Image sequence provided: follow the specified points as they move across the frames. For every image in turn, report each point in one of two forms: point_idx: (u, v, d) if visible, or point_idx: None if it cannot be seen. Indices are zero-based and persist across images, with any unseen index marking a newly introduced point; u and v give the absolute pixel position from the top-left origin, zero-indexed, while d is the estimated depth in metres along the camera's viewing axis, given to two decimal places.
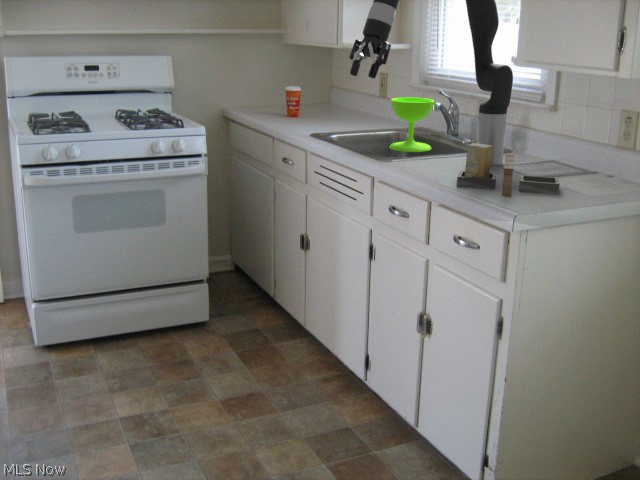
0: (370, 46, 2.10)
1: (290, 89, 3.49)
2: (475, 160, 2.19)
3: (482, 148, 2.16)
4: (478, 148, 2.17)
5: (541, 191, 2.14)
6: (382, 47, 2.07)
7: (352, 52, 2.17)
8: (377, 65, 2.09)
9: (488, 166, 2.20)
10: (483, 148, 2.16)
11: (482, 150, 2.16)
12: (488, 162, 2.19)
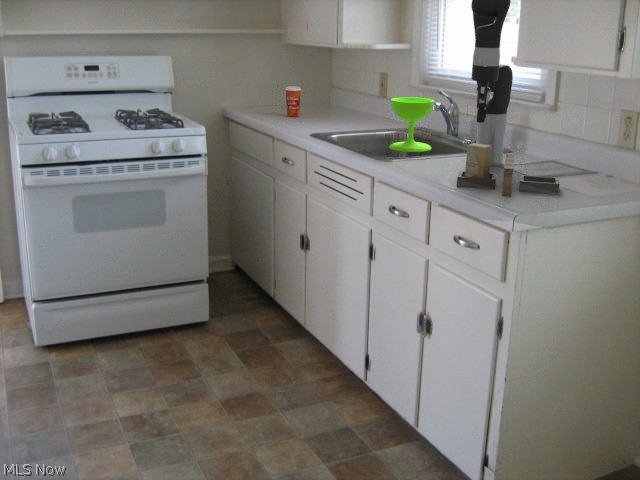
0: (490, 90, 2.16)
1: (290, 89, 3.49)
2: (475, 160, 2.19)
3: (482, 148, 2.16)
4: (478, 148, 2.17)
5: (541, 191, 2.14)
6: None
7: (486, 101, 2.09)
8: None
9: (488, 166, 2.20)
10: (483, 148, 2.16)
11: (482, 150, 2.16)
12: (488, 162, 2.19)
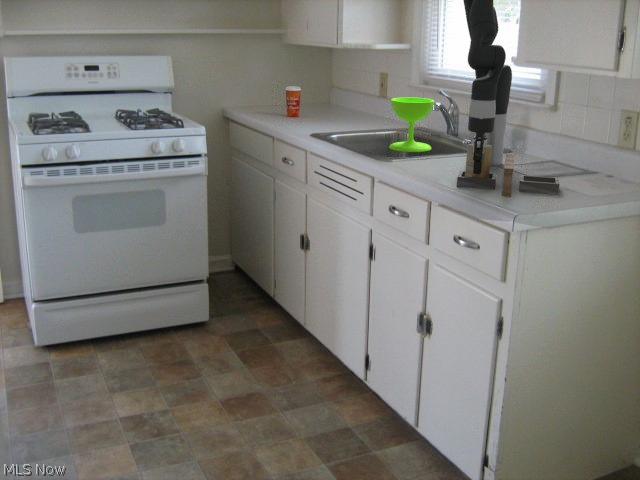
0: (486, 141, 2.20)
1: (290, 89, 3.49)
2: None
3: None
4: None
5: (541, 191, 2.14)
6: None
7: (482, 154, 2.14)
8: None
9: (488, 166, 2.20)
10: None
11: None
12: (488, 162, 2.19)
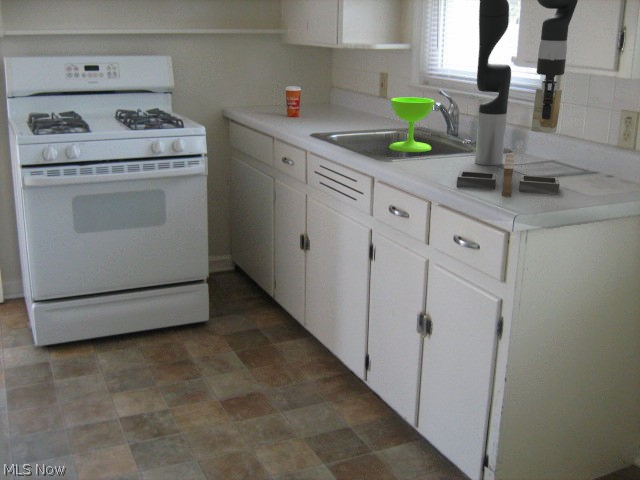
0: None
1: (290, 89, 3.49)
2: None
3: None
4: None
5: (541, 191, 2.14)
6: None
7: (552, 97, 2.05)
8: None
9: (557, 111, 2.10)
10: None
11: None
12: (557, 107, 2.10)
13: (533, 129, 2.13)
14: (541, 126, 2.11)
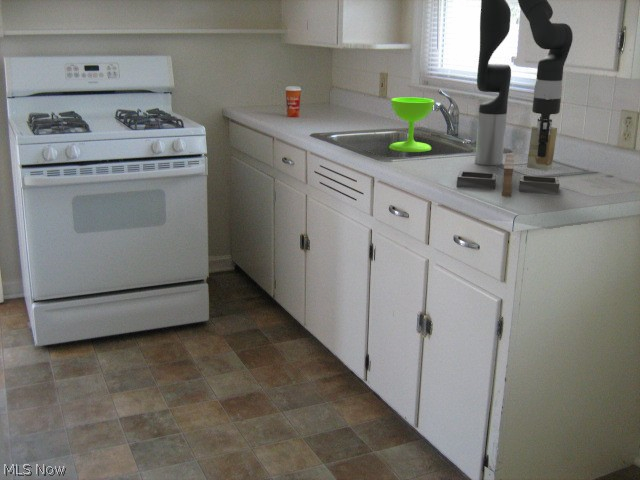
0: None
1: (290, 89, 3.49)
2: None
3: None
4: None
5: (541, 191, 2.14)
6: None
7: None
8: None
9: (553, 149, 2.14)
10: None
11: None
12: (553, 145, 2.13)
13: (529, 166, 2.16)
14: (537, 163, 2.14)
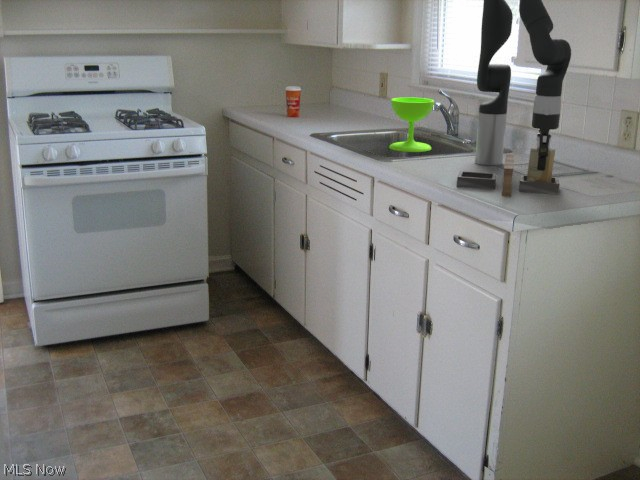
0: None
1: (290, 89, 3.49)
2: None
3: None
4: None
5: (541, 191, 2.14)
6: None
7: (547, 149, 2.08)
8: None
9: (551, 170, 2.16)
10: None
11: None
12: (551, 166, 2.15)
13: None
14: None
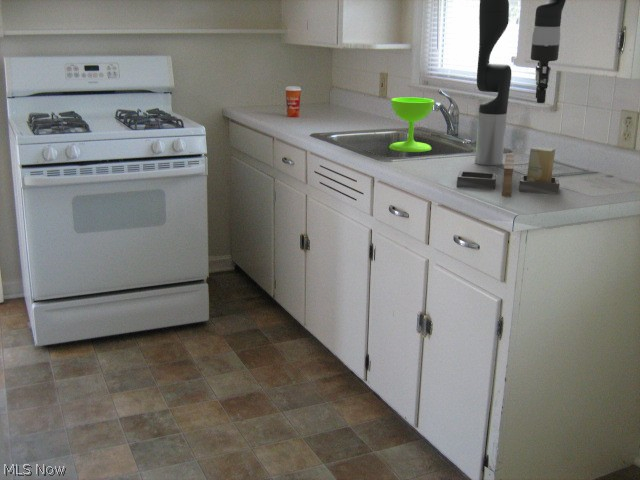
0: None
1: (290, 89, 3.49)
2: (538, 164, 2.14)
3: (546, 152, 2.12)
4: (542, 152, 2.13)
5: (541, 191, 2.14)
6: None
7: (547, 81, 2.06)
8: None
9: (551, 170, 2.16)
10: (547, 152, 2.12)
11: (547, 154, 2.12)
12: (551, 166, 2.15)
13: None
14: None
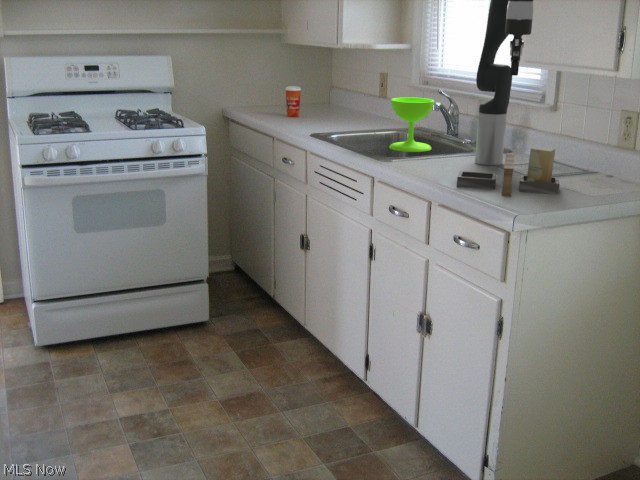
0: None
1: (290, 89, 3.49)
2: (538, 164, 2.14)
3: (546, 152, 2.12)
4: (542, 152, 2.13)
5: (541, 191, 2.14)
6: None
7: (520, 53, 2.13)
8: None
9: (551, 170, 2.16)
10: (547, 152, 2.12)
11: (547, 154, 2.12)
12: (551, 166, 2.15)
13: None
14: None
